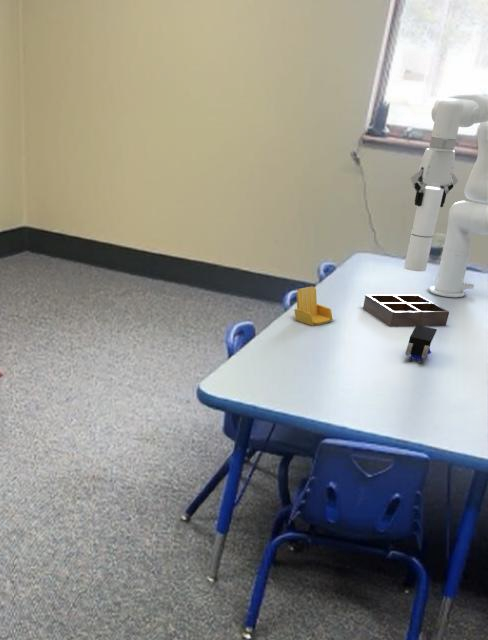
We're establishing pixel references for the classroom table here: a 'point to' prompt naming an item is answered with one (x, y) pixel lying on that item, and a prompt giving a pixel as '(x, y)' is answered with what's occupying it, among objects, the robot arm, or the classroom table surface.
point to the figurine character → (420, 342)
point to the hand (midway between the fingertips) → (428, 205)
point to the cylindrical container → (423, 229)
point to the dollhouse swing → (311, 308)
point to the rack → (405, 310)
